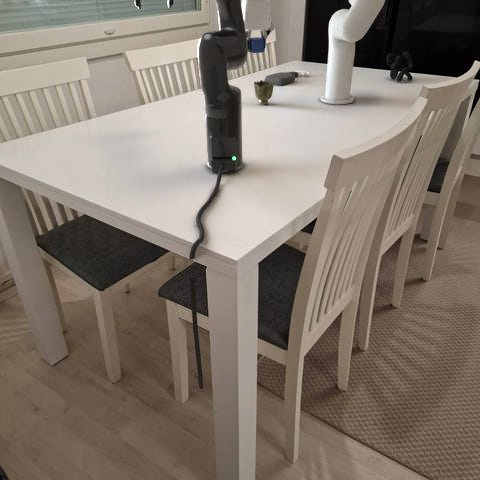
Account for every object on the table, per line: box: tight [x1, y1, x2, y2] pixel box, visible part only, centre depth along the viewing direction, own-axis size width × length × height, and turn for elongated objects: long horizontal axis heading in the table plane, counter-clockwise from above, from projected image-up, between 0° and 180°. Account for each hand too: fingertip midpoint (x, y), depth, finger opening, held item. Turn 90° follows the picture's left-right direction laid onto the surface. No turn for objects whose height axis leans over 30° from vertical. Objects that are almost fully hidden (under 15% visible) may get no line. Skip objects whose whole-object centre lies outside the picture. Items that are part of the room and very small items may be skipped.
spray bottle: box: [264, 70, 310, 86], centre depth 204 cm, size 3×11×25 cm
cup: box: [253, 79, 275, 106], centre depth 169 cm, size 8×7×8 cm
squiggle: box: [385, 51, 414, 83], centre depth 198 cm, size 11×10×15 cm
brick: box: [250, 36, 265, 54], centre depth 159 cm, size 5×4×4 cm
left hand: (154, 8), depth 126 cm, fingers open, 8 cm apart
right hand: (255, 50), depth 159 cm, fingers closed on brick, 4 cm apart
